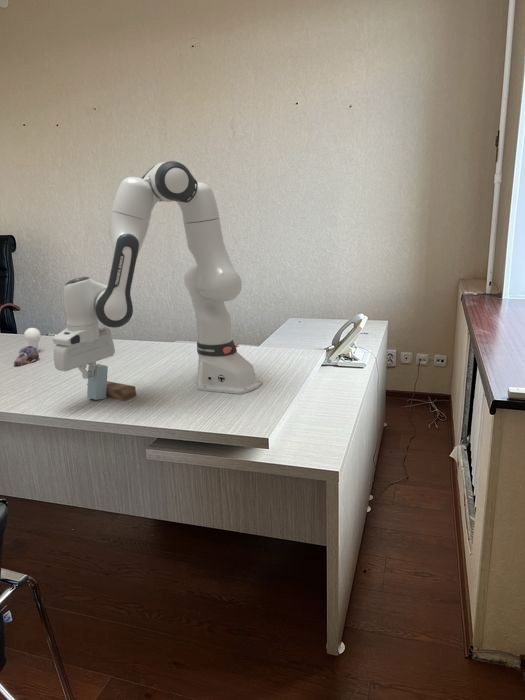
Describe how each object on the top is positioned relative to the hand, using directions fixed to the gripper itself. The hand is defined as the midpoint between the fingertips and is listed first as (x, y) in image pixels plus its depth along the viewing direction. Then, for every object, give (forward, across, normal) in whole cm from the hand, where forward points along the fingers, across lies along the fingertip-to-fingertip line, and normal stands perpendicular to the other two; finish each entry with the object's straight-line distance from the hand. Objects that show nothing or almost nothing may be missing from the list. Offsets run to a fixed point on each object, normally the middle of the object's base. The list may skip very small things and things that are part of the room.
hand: (88, 377), depth 160 cm
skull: (+8, -18, -56) cm, 60 cm away
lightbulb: (+8, -29, -65) cm, 71 cm away
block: (+7, -2, 0) cm, 8 cm away
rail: (+8, -8, +1) cm, 11 cm away
